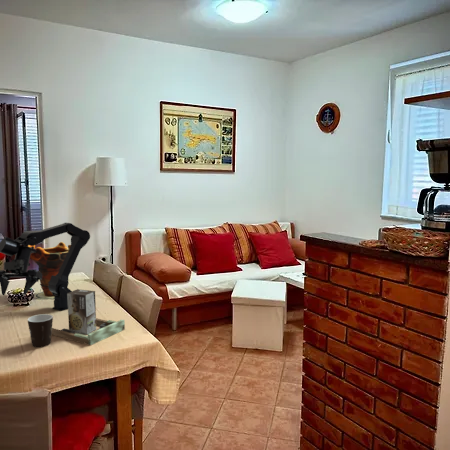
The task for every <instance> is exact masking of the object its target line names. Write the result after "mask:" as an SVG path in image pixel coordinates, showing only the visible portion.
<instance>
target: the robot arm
mask: <svg viewBox="0 0 450 450" xmlns="http://www.w3.org/2000/svg"><path fill="white" fill-rule="evenodd" d="M65 233H67V234H68V235H69V236H71V238H70V245H71V246H70V249H69V251H68V253H67V255H66V257H65V260H64V262H63V264H62V266H61V268H60V270H59V273H58V274H57V275H56V276H53V275H52V276H51V279H50V281H49V282H48V284H49V285H48V288H49V290H50V291H51V292H52V294H53V295H56V296H54V300H53V307H52V310H56V311H64V310H65V311H66V310H68V299H67V293H70V292H72V291H73V290H71V289H70V288H69V282H70V281H69V276H70V274H71V272H72V270H73V267H74V265H75V263H76V261H77V259H78V256H79V254H80V252H81V250H82V249H83V248H84V247H85V246H86V245H87V244H88V242H89V240H90V238H91V234H90V232H89V231H88V230H86V229H83V228H80V227H77V226H76V225H74V224H73V223H70V222H63V223H60V224H58V225H54V226H49V227H48V228H45V229H41V230H27V231H24V232H22V233H21V235H20V236H18V237H17V238H16V239H13V238H10V237H7V236H3V239H1V240H0V253H1V254H3V255H6V256H10V257H13V256H14V255H15V256H14V259H13V258H12V260H11V261H4V262H3V269H2V270H1V269H0V289H1V296H5V295H6V292H7V290H8V287H9V284H10V282H11V281H10V279H11V278H25V285H24V287H23V293H22V294H23V295H24V296H25V295H27V294H28V292H29V291H30V289H32V287H33V286H34V285H35V284H36V283H37V282H40V280H42V276H43V275H42V273H41V272H39V270H38V269H28V268H29V267H30V266H31V263H30V260H31V259H30V255H31V253H34V252H36V250H35V249H36V248H35V249H34V247H28V245H31V246H34V245H35V246H37V245H38V244H41V243H42V242H44V241H45V240H46V239H49V238H52V237H56V236H59V235H62V234H65ZM7 270H8V271H7Z"/></svg>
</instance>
